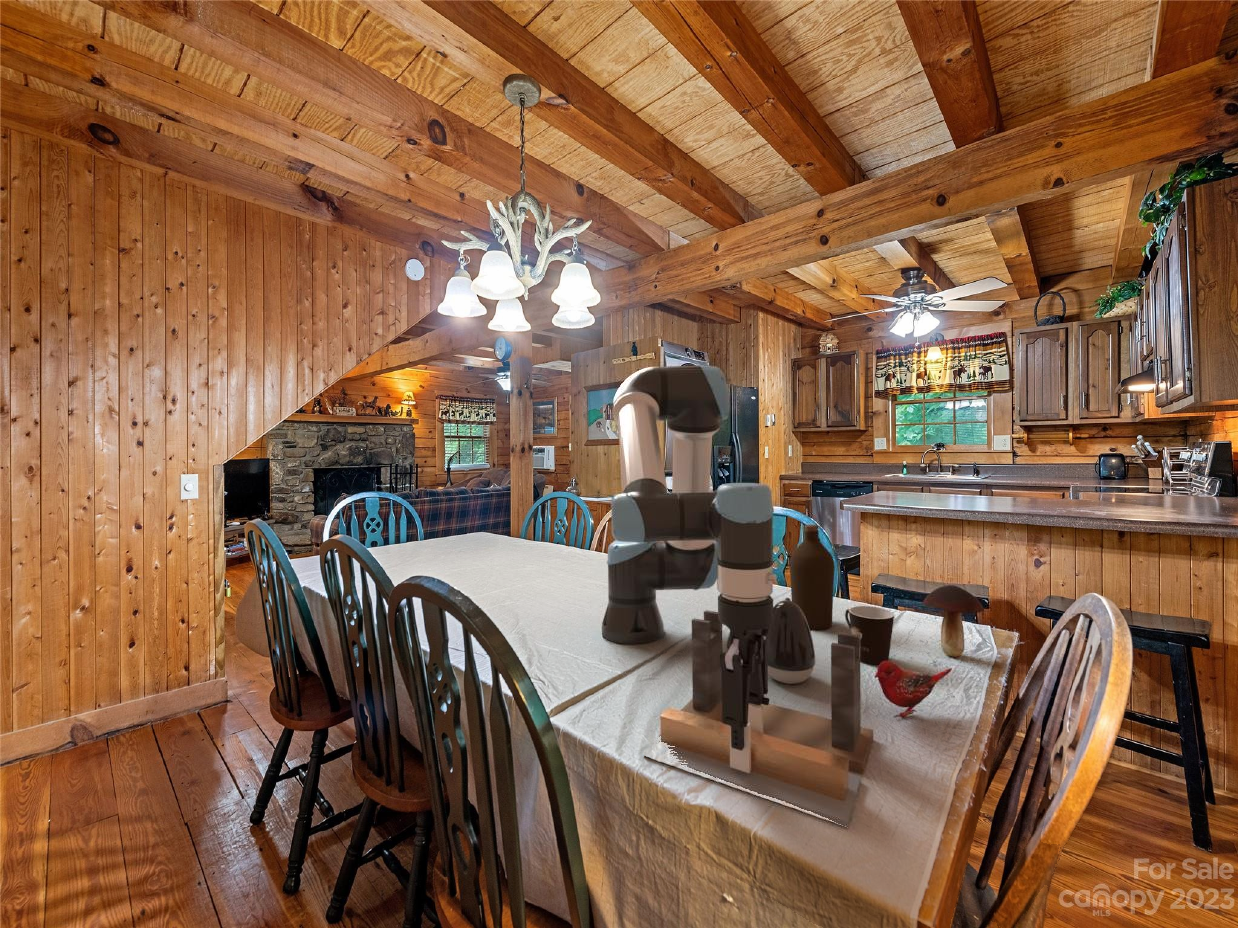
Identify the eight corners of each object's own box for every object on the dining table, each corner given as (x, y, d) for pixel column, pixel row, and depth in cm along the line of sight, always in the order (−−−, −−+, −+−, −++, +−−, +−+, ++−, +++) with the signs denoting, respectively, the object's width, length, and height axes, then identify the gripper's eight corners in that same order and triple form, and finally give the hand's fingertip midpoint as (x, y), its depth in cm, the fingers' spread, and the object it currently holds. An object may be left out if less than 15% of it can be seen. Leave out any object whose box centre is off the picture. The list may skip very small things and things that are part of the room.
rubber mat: (643, 756, 78) (643, 751, 77) (674, 725, 86) (674, 720, 86) (847, 828, 62) (847, 821, 62) (861, 782, 71) (861, 776, 71)
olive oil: (805, 632, 126) (804, 529, 126) (782, 619, 137) (781, 523, 136) (844, 628, 129) (843, 527, 128) (818, 615, 139) (817, 521, 138)
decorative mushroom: (912, 647, 116) (912, 580, 116) (958, 644, 117) (958, 578, 117) (946, 667, 106) (947, 593, 105) (998, 664, 106) (998, 591, 106)
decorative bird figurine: (867, 720, 86) (867, 660, 86) (944, 699, 93) (944, 643, 92) (882, 728, 84) (881, 666, 83) (960, 707, 90) (960, 649, 90)
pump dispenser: (815, 669, 106) (814, 595, 105) (816, 693, 96) (815, 610, 95) (762, 664, 109) (761, 591, 109) (758, 685, 99) (757, 606, 99)
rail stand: (679, 719, 88) (678, 621, 87) (704, 695, 96) (702, 605, 95) (863, 774, 72) (862, 655, 72) (873, 739, 81) (873, 633, 80)
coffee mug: (900, 669, 105) (900, 619, 105) (854, 666, 107) (853, 617, 107) (883, 647, 117) (883, 602, 117) (841, 644, 119) (841, 600, 118)
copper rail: (660, 741, 80) (660, 715, 80) (669, 732, 82) (669, 707, 82) (844, 801, 66) (844, 770, 66) (848, 788, 68) (848, 757, 68)
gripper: (750, 616, 64) (752, 804, 65) (789, 583, 79) (791, 736, 79) (693, 607, 68) (696, 784, 69) (741, 577, 83) (743, 722, 84)
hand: (747, 758), depth 74 cm, fingers open, 5 cm apart
